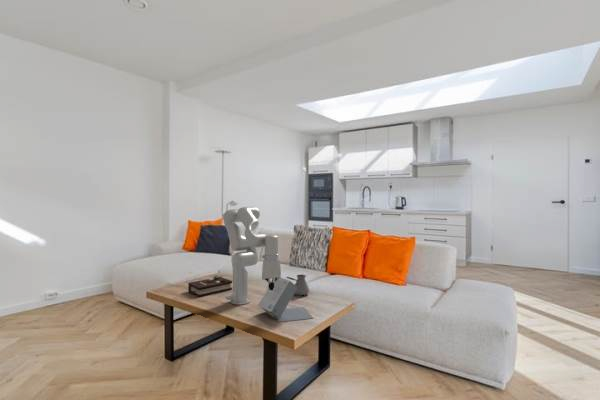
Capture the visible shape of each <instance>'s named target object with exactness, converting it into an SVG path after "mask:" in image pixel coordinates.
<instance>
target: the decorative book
mask: <svg viewBox="0 0 600 400" xmlns="http://www.w3.org/2000/svg"><path fill="white" fill-rule="evenodd" d="M187 284H188V286H187V287H188V288H187V290H188V293H190V294H192V295H194V296H196V297H198V298H202V297H207V296H212V295H215V294H219V293H224V292H228V291H233V287H231V286H232V285H233V280H230V279H228V278H224V277H222V276H218V275H215V276H213V277H211V278H208V279H202V280H197V281H192V282H188V283H187Z"/></svg>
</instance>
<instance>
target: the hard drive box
mask: <svg viewBox="0 0 600 400" xmlns="http://www.w3.org/2000/svg"><path fill="white" fill-rule="evenodd" d="M295 284H296V283H293V282H292V281H291V280H290V279H288V280H287V278H286V279H285V278H282V277H281V279H277V280H276V281H275V283H274V288H273V290H270V289H269V287H268V288H267V289H266V292H265V293H264V295H263V297H262V298H261V300H260V301H259V302H258V304H257V306H258V307H259V308H261V310H263V311H264V312H266V313H268V314H270V315H272V316H274V317H278V318H280V317H281V315H282V314H283V312H284V310H285V309H287V306H288V305H289V303H290V302H291V300H292V298H293V297H294V295H295V291H296V290H297V288H298V287H297V286H296V285H295Z"/></svg>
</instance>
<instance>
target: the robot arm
mask: <svg viewBox="0 0 600 400" xmlns="http://www.w3.org/2000/svg"><path fill="white" fill-rule="evenodd" d="M260 213H261V212H260V210H259V208H258V207H256V206H244V207H243V206H242V207H240V208H239V209H237V208H235V209H228V210H226V211H225V212H224V213H223V219H222V220H223V225H224V227H225V229H226V231H227V235H228V240H229V244H230V248H231V250H232V251H233V252H236V253H233V255H232V256H231V258H230V259H231V266H232V294H231V295H226V296H225V300H228V301H229V300H230V301H229V302H230V303H231V304H233V305H239V306H241V305H246V304H248V303H250V302H251V298H250V297H249V274H248V271H247V270H246V267H253V266H256V265H257V264H258V262H259V255H258V250H257V248H264V254H263V255H262V256H261V258H262V259H263V261H262V269H261V274H262V275H261V276H262V277H261V279H262V281H266V282H267V283H268V288H269V289H270V290H273V288H274V283H275V281H276V280H277V279H281V278H282V276H281V275H282V272H281V271H282V270H281V269H282V268H281V261H280V259H279V237H278V235H276V234H271V233H268V232H267V233H266V232H265V233H258V234H257V233H256V234H255V233H254V232H253V231H255V230H256V229H257V228H258V227H259V223H260V222H259V220H258V219H259V218H260V216H261V214H260ZM237 223H242V225H243V226H244V227H245V229H244V235H243V233H242V229H241V228H240V227H239V225H238V224H237Z"/></svg>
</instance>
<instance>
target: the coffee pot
mask: <svg viewBox="0 0 600 400" xmlns="http://www.w3.org/2000/svg"><path fill="white" fill-rule="evenodd" d="M296 277H297V278H293V277H290V276H286V277H285V278H284V279H286V280H290V281H291V280H292V281H295V283H294V284H295V285H296V286H297V287H298V288H297V290H296V291H295V293H294V295H295V296H298V295H300V296H299V297H302V296H301V295H304V296H307V295H308V294H309V293H310V288H309V286H308V283H307V281H306V275H305V274H297V275H296ZM306 294H307V295H306Z"/></svg>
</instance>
